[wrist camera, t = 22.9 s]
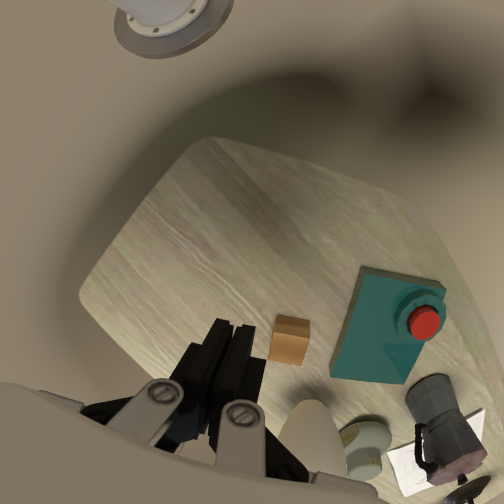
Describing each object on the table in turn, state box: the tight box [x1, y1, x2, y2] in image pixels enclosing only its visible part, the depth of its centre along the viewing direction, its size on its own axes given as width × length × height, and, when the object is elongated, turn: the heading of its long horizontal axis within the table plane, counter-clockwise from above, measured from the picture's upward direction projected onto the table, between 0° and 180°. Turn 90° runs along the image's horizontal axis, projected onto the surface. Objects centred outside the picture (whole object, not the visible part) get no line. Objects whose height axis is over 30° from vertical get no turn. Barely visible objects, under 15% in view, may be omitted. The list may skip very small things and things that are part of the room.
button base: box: [329, 266, 447, 385], centre depth 35 cm, size 16×12×4 cm
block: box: [268, 315, 310, 366], centre depth 38 cm, size 4×4×4 cm
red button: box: [408, 305, 440, 340], centre depth 31 cm, size 4×4×2 cm
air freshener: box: [339, 421, 392, 481], centre depth 39 cm, size 11×8×10 cm
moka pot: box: [406, 374, 487, 486], centre depth 30 cm, size 10×15×20 cm, turn 72°
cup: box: [277, 400, 347, 478], centre depth 33 cm, size 10×10×22 cm
